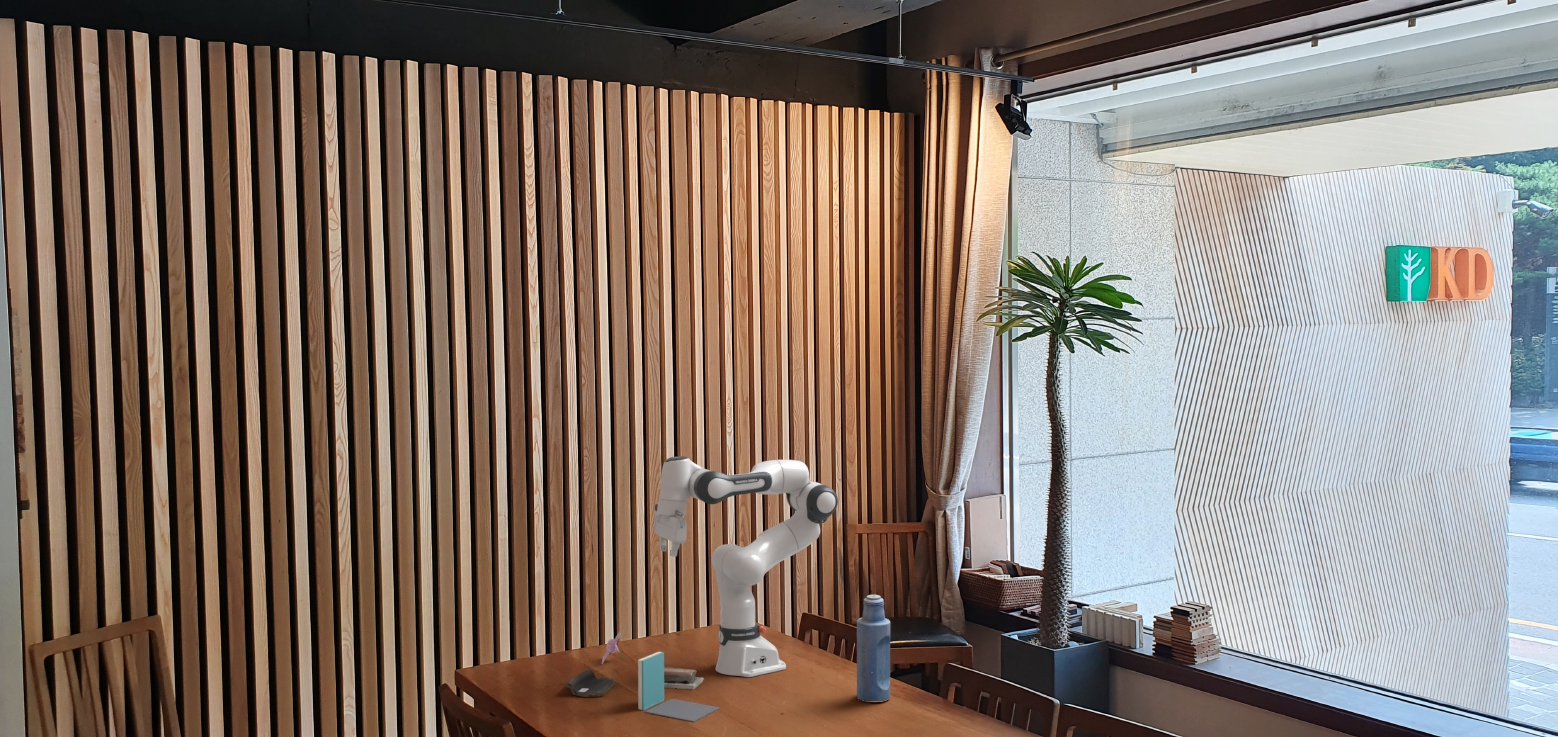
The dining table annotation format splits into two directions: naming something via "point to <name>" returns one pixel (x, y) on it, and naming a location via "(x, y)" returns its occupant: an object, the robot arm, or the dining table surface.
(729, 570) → the robot arm
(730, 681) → the dining table surface
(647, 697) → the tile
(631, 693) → the dining table surface
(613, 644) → the lily
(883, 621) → the bottle
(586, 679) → the pottery fragment
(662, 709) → the mat
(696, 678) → the packaged product
